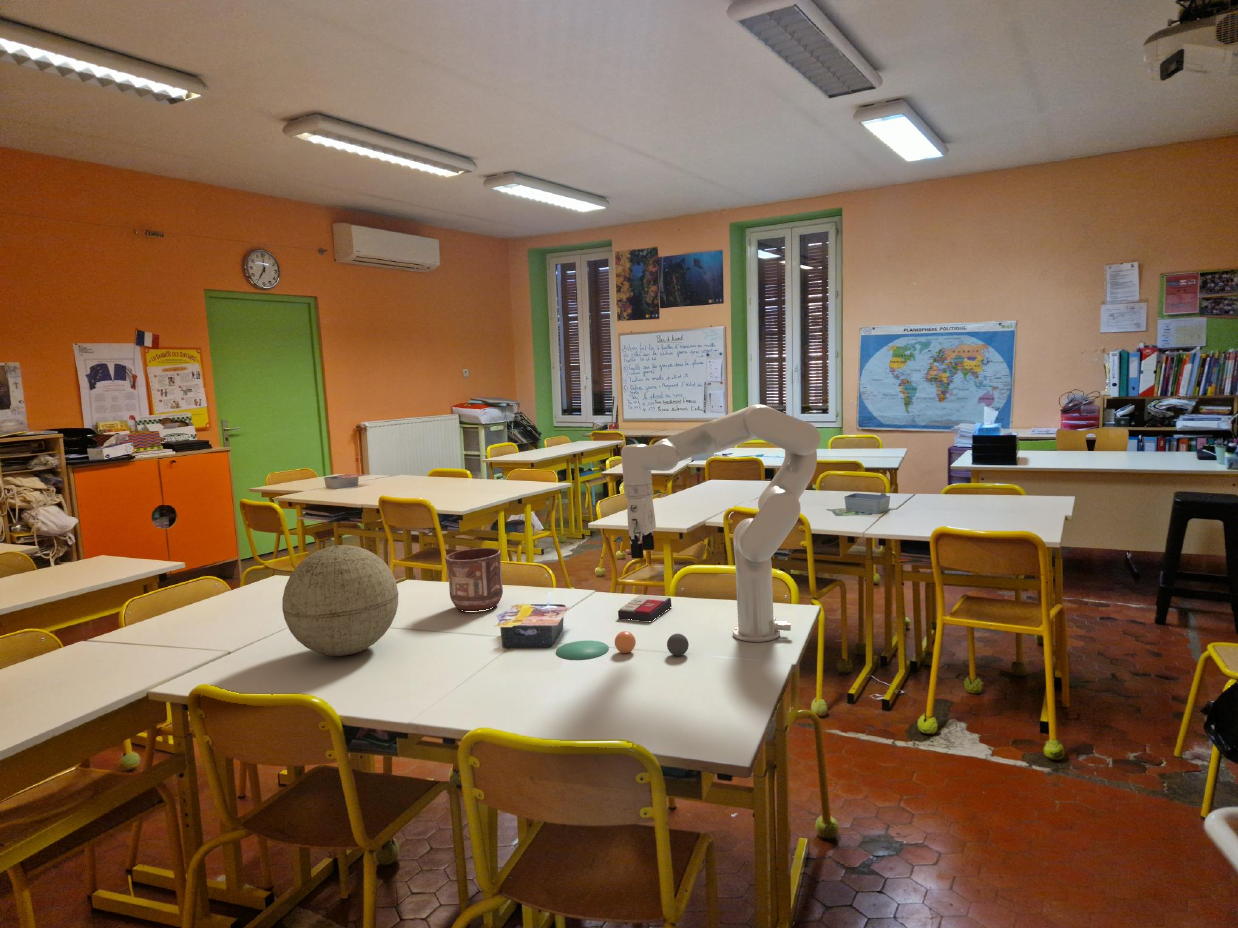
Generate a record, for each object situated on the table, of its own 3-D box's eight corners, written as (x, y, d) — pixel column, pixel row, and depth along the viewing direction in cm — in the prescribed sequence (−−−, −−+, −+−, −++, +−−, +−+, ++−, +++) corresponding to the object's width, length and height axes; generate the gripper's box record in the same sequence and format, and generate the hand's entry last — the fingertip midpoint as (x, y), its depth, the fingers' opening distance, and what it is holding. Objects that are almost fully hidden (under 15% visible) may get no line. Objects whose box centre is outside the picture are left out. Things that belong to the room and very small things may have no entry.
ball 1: (638, 649, 198) (637, 628, 197) (632, 656, 193) (631, 635, 192) (618, 648, 199) (617, 627, 199) (612, 655, 194) (611, 634, 194)
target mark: (615, 642, 204) (615, 641, 204) (598, 661, 191) (598, 660, 191) (567, 640, 208) (567, 639, 208) (547, 658, 195) (547, 657, 195)
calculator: (617, 608, 224) (639, 592, 237) (618, 622, 225) (640, 605, 238) (650, 611, 219) (671, 595, 232) (651, 625, 220) (672, 608, 233)
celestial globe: (269, 657, 208) (257, 551, 205) (369, 628, 230) (360, 531, 227) (319, 682, 188) (307, 564, 185) (423, 647, 210) (414, 541, 206)
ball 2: (691, 651, 194) (690, 631, 193) (686, 659, 188) (685, 638, 188) (670, 650, 195) (669, 630, 195) (665, 658, 190) (664, 637, 189)
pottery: (453, 602, 254) (448, 550, 252) (505, 597, 255) (501, 545, 253) (447, 618, 236) (442, 562, 234) (503, 613, 238) (499, 557, 236)
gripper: (642, 495, 191) (647, 561, 193) (660, 485, 207) (665, 546, 209) (614, 496, 193) (619, 561, 195) (635, 486, 210) (639, 546, 211)
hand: (643, 553), depth 202 cm, fingers open, 9 cm apart
